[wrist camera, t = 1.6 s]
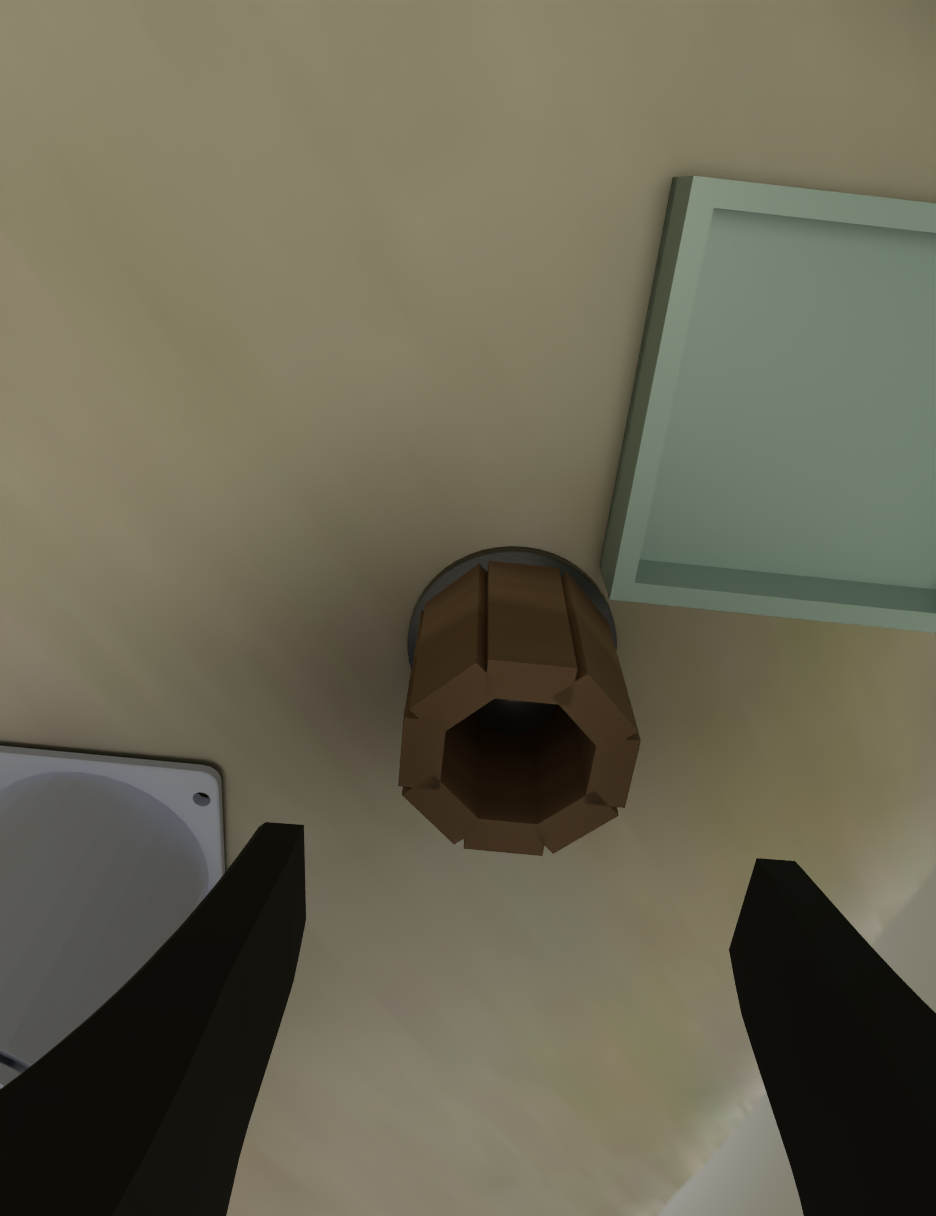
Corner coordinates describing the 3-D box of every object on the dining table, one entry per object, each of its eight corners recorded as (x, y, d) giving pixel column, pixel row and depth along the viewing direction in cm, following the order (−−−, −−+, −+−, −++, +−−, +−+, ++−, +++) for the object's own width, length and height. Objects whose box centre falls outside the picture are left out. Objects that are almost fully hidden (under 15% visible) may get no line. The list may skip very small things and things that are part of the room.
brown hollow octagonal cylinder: (426, 554, 21) (409, 651, 17) (621, 573, 21) (656, 675, 17) (409, 746, 24) (391, 874, 19) (582, 762, 24) (604, 894, 19)
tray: (939, 600, 22) (980, 637, 20) (599, 565, 22) (609, 599, 20) (1089, 225, 18) (1156, 228, 16) (672, 177, 18) (693, 175, 16)
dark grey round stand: (595, 736, 24) (608, 801, 21) (402, 717, 24) (391, 781, 21) (632, 558, 21) (651, 608, 19) (416, 536, 21) (406, 584, 19)
